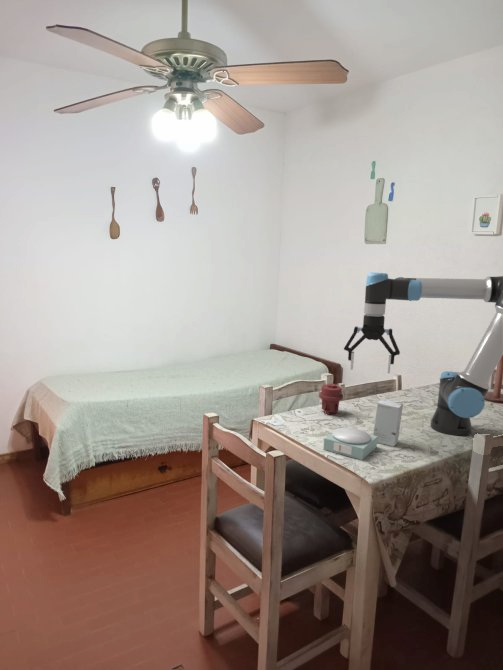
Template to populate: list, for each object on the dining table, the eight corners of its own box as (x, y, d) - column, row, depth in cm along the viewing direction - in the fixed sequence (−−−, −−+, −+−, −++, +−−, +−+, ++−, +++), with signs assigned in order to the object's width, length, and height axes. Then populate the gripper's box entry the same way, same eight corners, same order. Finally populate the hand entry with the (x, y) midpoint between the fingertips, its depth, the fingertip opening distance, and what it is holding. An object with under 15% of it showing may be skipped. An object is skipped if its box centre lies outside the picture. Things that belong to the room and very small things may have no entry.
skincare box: (372, 442, 178) (375, 402, 175) (376, 436, 183) (380, 398, 180) (395, 447, 174) (399, 407, 171) (399, 442, 179) (403, 402, 176)
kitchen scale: (376, 447, 173) (377, 433, 172) (361, 460, 161) (362, 446, 160) (339, 437, 181) (340, 424, 180) (322, 449, 169) (323, 436, 168)
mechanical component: (316, 408, 213) (338, 409, 214) (320, 416, 203) (343, 417, 204) (318, 381, 211) (341, 381, 212) (322, 387, 201) (346, 388, 202)
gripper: (409, 315, 181) (404, 371, 184) (341, 311, 188) (337, 365, 191) (409, 318, 174) (404, 376, 177) (339, 313, 181) (335, 369, 184)
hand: (370, 370), depth 184 cm, fingers open, 13 cm apart
